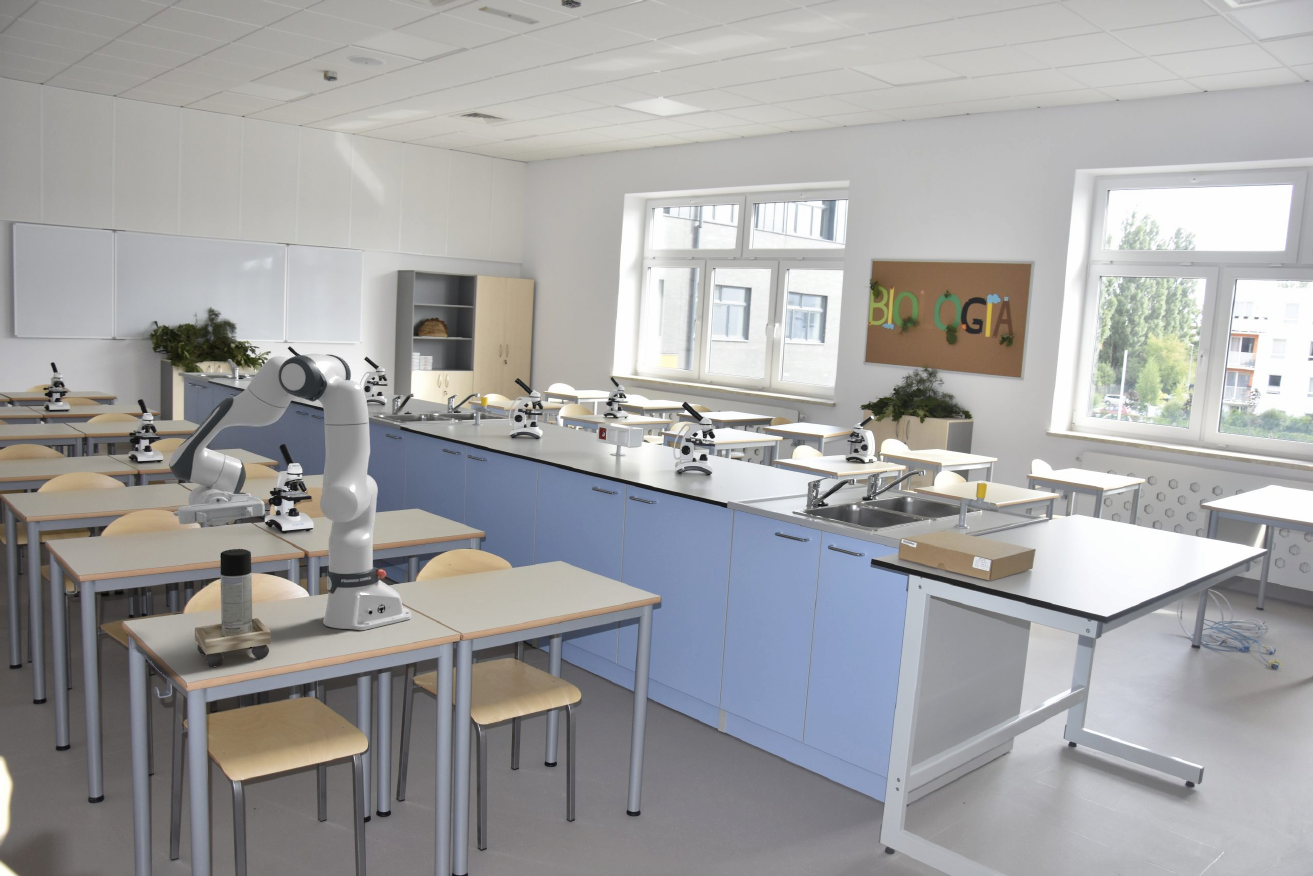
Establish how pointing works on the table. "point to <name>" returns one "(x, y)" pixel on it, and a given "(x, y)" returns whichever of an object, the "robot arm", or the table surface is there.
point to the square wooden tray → (231, 641)
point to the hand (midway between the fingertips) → (228, 516)
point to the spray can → (236, 592)
